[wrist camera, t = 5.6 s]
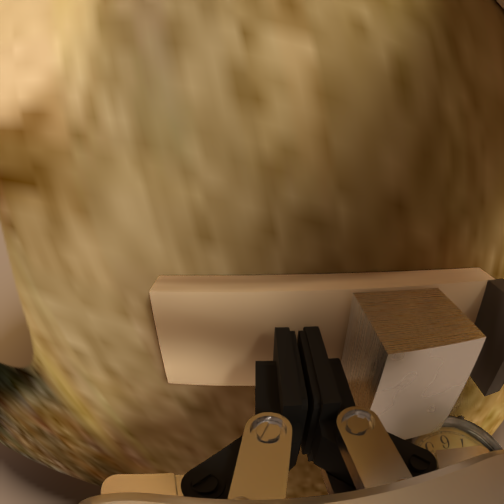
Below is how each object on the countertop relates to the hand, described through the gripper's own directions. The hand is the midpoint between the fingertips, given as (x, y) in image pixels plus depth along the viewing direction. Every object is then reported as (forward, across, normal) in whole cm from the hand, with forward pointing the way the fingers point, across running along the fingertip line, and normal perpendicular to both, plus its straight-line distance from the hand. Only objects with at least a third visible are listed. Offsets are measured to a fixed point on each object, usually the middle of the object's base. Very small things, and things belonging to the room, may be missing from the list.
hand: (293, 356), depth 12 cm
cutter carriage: (+1, -5, 0) cm, 5 cm away
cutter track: (+3, -2, 0) cm, 3 cm away
